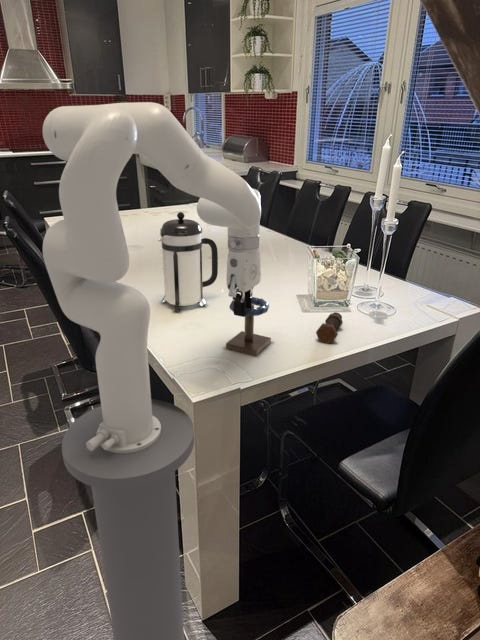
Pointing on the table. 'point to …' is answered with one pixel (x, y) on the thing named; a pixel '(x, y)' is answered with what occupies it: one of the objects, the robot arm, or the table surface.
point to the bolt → (329, 328)
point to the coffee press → (185, 262)
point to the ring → (254, 311)
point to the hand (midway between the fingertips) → (242, 313)
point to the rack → (248, 339)
